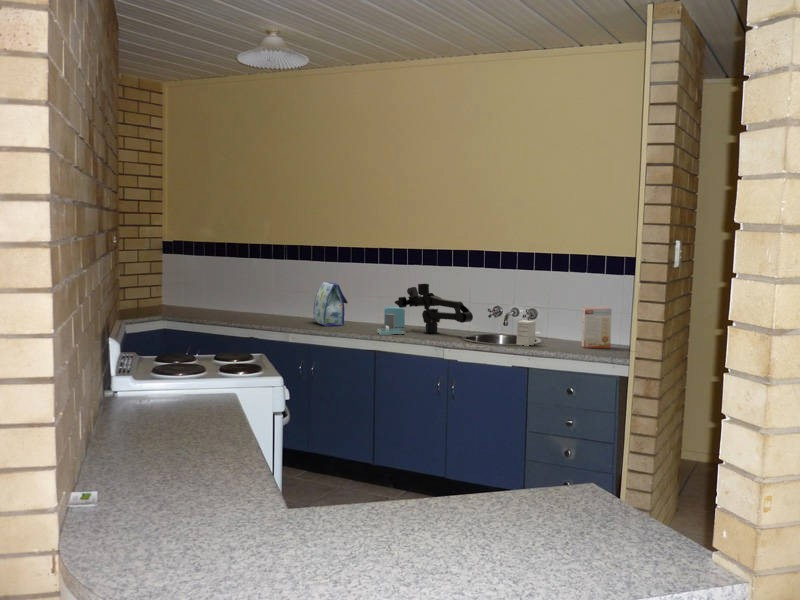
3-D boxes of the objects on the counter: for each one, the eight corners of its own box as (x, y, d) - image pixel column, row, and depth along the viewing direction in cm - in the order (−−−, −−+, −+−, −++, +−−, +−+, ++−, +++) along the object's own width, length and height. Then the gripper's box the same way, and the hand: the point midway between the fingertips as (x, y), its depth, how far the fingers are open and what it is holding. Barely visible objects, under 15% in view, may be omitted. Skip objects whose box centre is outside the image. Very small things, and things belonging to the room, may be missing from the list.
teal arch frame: (403, 326, 486) (404, 307, 485) (404, 327, 482) (404, 308, 481) (384, 326, 485) (384, 307, 484) (384, 327, 481) (385, 308, 480)
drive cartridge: (395, 330, 466) (395, 314, 465) (393, 331, 461) (393, 314, 461) (387, 330, 467) (387, 313, 467) (384, 331, 463) (385, 314, 462)
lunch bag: (348, 325, 487) (349, 283, 484) (323, 326, 479) (323, 283, 477) (335, 321, 506) (336, 280, 504) (311, 322, 499) (311, 281, 497)
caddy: (400, 332, 459) (400, 324, 459) (405, 334, 449) (405, 327, 448) (376, 332, 456) (376, 325, 456) (381, 335, 445) (381, 327, 445)
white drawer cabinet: (523, 343, 424) (523, 319, 423) (535, 344, 419) (536, 321, 418) (515, 344, 418) (516, 320, 417) (528, 346, 414) (528, 322, 412)
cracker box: (607, 346, 417) (608, 307, 415) (610, 348, 411) (612, 308, 409) (580, 346, 416) (582, 306, 414) (583, 348, 410) (585, 307, 408)
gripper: (429, 286, 470) (409, 287, 480) (408, 288, 456) (388, 289, 467) (430, 305, 470) (410, 306, 481) (409, 307, 456) (389, 308, 467)
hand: (400, 301), depth 474 cm, fingers open, 9 cm apart
